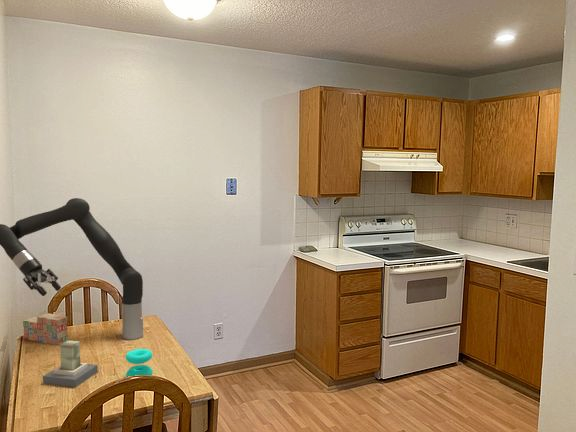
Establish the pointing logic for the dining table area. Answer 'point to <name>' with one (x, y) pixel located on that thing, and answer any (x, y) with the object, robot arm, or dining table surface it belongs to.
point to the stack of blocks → (46, 329)
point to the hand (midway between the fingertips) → (52, 292)
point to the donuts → (139, 362)
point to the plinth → (70, 375)
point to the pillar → (70, 355)
